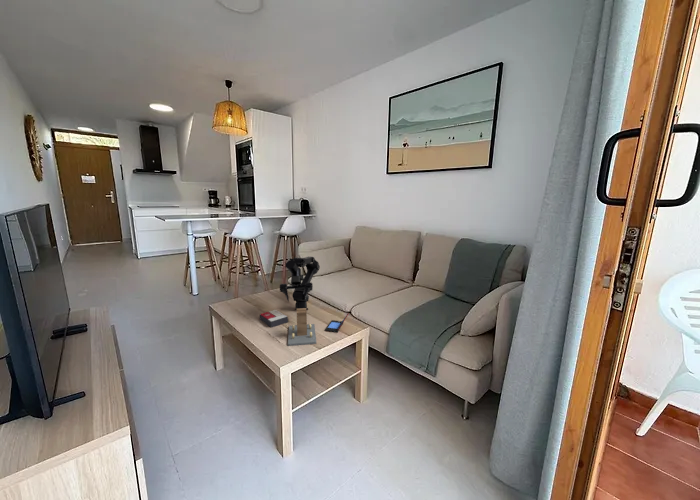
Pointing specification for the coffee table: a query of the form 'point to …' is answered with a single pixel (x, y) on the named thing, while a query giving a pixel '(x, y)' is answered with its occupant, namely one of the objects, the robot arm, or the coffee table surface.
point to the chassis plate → (301, 340)
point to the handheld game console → (335, 325)
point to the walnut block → (301, 322)
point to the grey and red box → (273, 318)
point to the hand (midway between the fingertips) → (296, 300)
